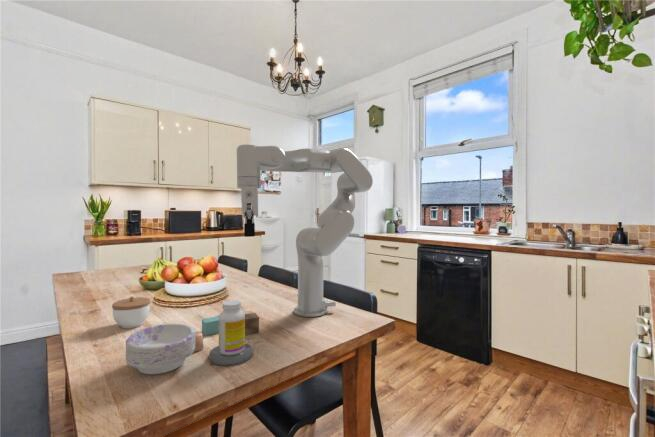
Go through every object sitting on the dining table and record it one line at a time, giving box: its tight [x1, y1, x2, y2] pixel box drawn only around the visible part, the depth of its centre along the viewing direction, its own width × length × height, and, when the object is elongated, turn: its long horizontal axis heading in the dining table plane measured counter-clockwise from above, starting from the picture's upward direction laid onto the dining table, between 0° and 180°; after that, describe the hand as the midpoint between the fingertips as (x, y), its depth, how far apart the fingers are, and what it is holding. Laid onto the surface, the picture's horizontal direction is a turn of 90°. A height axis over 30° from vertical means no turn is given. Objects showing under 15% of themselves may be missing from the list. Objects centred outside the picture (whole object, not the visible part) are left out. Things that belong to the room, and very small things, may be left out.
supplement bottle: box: [218, 299, 246, 355], centre depth 84 cm, size 7×7×13 cm
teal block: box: [201, 315, 219, 336], centre depth 101 cm, size 6×4×4 cm, turn 126°
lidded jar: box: [111, 296, 151, 329], centre depth 105 cm, size 11×11×9 cm
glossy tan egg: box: [193, 331, 204, 353], centre depth 88 cm, size 4×4×4 cm
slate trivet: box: [208, 342, 254, 367], centre depth 84 cm, size 11×11×1 cm
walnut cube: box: [244, 312, 260, 336], centre depth 100 cm, size 5×5×5 cm
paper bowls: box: [125, 322, 196, 375], centre depth 79 cm, size 15×15×8 cm
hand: (249, 235), depth 106 cm, fingers open, 9 cm apart
